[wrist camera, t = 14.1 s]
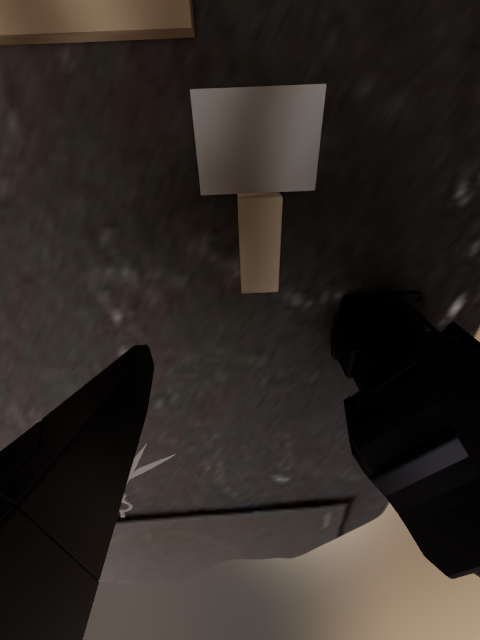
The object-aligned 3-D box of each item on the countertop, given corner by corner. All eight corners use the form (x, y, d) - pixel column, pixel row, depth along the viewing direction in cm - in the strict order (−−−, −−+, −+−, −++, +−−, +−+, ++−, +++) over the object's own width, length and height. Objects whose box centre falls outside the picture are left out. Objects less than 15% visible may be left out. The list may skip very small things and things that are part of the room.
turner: (321, 86, 15) (337, 77, 13) (302, 274, 21) (310, 290, 19) (191, 91, 15) (185, 84, 13) (210, 279, 21) (208, 294, 19)
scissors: (54, 499, 39) (121, 433, 30) (57, 493, 39) (123, 427, 31) (123, 517, 43) (199, 464, 34) (125, 512, 43) (199, 458, 35)
